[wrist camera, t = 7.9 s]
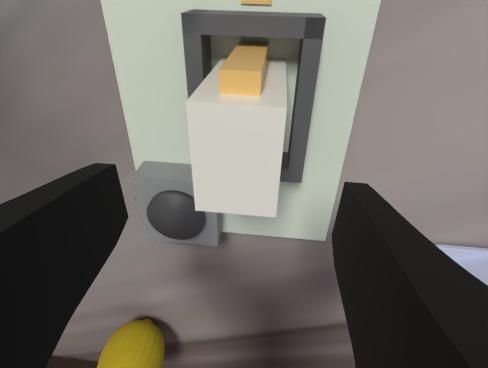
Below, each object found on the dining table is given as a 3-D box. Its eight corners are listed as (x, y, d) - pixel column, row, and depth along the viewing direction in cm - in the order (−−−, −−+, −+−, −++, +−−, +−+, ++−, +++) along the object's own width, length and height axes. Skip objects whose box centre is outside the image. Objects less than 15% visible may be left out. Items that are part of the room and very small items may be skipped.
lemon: (166, 302, 29) (132, 395, 23) (180, 335, 32) (153, 426, 26) (114, 301, 30) (66, 391, 24) (132, 333, 33) (94, 420, 27)
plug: (278, 140, 18) (275, 217, 12) (224, 136, 18) (195, 210, 12) (287, 42, 15) (289, 81, 9) (222, 39, 15) (183, 75, 9)
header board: (323, 231, 22) (329, 267, 20) (151, 216, 23) (133, 248, 21) (383, -39, 13) (409, -44, 11) (102, -44, 15) (58, -50, 12)
